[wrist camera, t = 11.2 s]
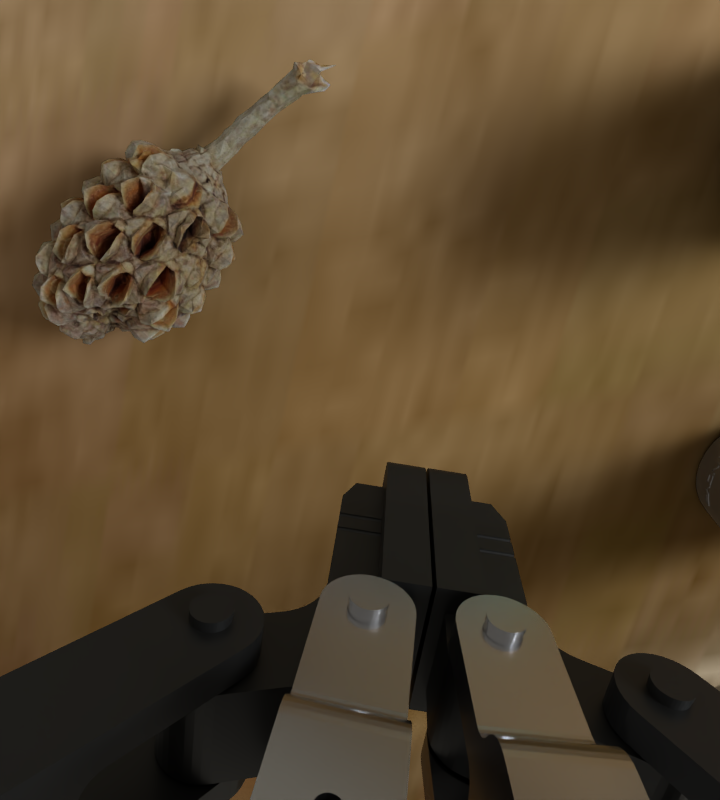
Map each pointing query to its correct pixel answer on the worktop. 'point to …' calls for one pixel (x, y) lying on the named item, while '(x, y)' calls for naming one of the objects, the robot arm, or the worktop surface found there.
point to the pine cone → (152, 230)
